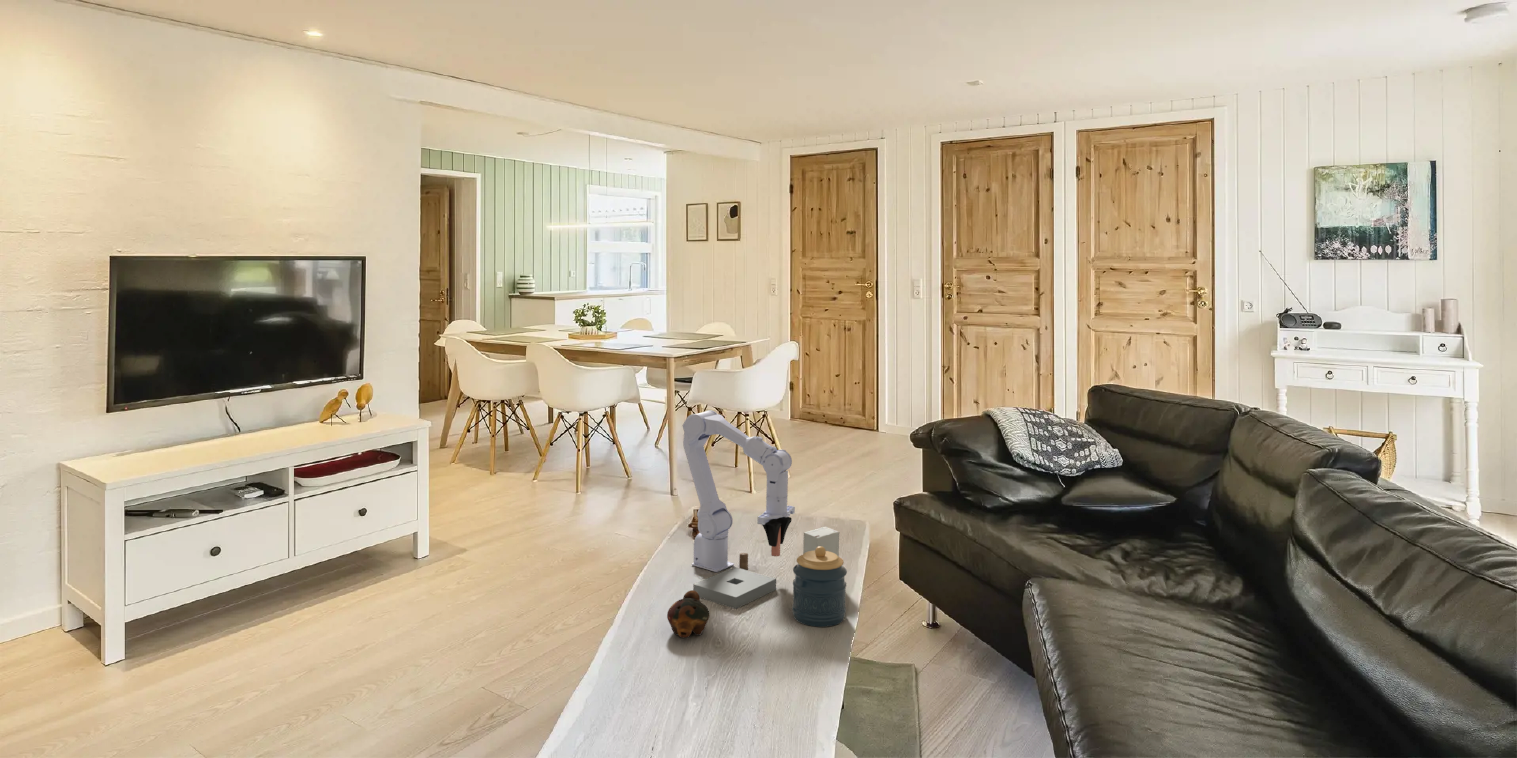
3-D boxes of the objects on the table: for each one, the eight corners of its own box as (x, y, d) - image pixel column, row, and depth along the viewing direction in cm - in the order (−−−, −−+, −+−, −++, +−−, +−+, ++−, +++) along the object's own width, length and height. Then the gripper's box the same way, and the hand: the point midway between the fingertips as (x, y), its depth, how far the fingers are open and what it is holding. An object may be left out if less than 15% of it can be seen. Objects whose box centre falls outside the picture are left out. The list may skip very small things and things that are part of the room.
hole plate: (693, 595, 218) (693, 584, 217) (734, 577, 231) (734, 566, 231) (735, 609, 209) (735, 597, 209) (776, 589, 223) (776, 578, 222)
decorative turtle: (709, 618, 203) (711, 587, 202) (707, 650, 188) (709, 616, 187) (668, 616, 203) (670, 585, 201) (663, 647, 188) (665, 614, 187)
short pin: (737, 569, 237) (737, 554, 237) (742, 567, 239) (743, 552, 238) (744, 571, 236) (744, 556, 235) (749, 569, 238) (749, 554, 237)
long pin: (769, 555, 230) (770, 526, 229) (774, 552, 232) (775, 524, 231) (776, 557, 228) (777, 528, 227) (781, 554, 230) (782, 526, 229)
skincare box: (823, 578, 232) (825, 525, 230) (839, 584, 227) (840, 530, 225) (801, 584, 226) (802, 530, 225) (816, 591, 222) (817, 536, 220)
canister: (812, 602, 214) (814, 534, 212) (855, 616, 206) (858, 546, 204) (781, 618, 204) (782, 547, 202) (825, 632, 196) (827, 559, 194)
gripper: (773, 503, 220) (771, 554, 222) (804, 493, 231) (803, 541, 233) (751, 499, 224) (750, 548, 226) (783, 488, 236) (782, 536, 237)
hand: (775, 544), depth 230 cm, fingers closed on long pin, 2 cm apart
